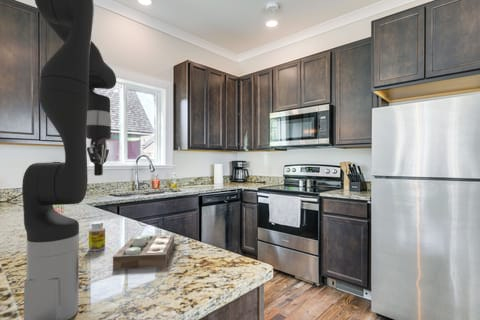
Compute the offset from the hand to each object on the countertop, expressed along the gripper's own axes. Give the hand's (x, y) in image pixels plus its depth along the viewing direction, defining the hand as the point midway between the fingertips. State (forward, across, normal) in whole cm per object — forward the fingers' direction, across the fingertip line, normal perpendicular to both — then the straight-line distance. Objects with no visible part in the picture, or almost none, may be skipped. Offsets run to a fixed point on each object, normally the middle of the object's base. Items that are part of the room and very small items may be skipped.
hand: (98, 175), depth 90 cm
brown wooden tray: (+29, +2, -16) cm, 33 cm away
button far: (+28, +9, -13) cm, 32 cm away
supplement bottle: (+29, +12, +5) cm, 32 cm away
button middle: (+26, +2, -13) cm, 30 cm away
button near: (+28, -5, -13) cm, 32 cm away
